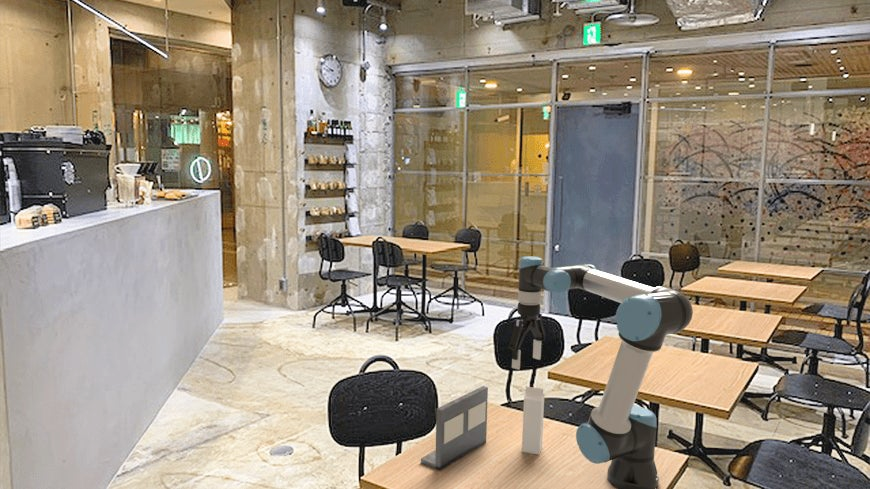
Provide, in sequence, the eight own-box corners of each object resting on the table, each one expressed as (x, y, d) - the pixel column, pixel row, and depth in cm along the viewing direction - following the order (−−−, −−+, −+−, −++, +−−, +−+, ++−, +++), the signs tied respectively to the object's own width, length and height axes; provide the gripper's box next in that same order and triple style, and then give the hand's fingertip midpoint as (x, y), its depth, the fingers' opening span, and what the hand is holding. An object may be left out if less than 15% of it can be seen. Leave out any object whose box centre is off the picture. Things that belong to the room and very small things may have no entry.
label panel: (486, 442, 217) (488, 387, 215) (441, 471, 197) (442, 410, 194) (467, 435, 222) (468, 381, 220) (420, 462, 202) (421, 403, 199)
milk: (524, 444, 217) (527, 383, 214) (542, 447, 215) (544, 385, 212) (521, 452, 211) (523, 389, 208) (539, 455, 209) (542, 391, 206)
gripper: (538, 294, 222) (535, 352, 225) (499, 307, 203) (496, 370, 206) (557, 298, 217) (554, 357, 220) (518, 311, 198) (516, 375, 201)
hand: (526, 363), depth 213 cm, fingers open, 13 cm apart
